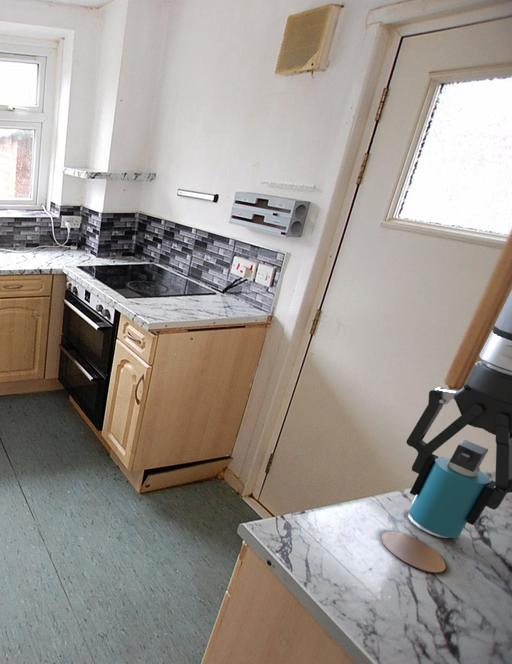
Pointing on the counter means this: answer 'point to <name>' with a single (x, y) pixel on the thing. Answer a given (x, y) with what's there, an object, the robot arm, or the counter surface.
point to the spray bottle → (451, 491)
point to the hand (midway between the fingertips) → (442, 505)
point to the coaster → (413, 552)
